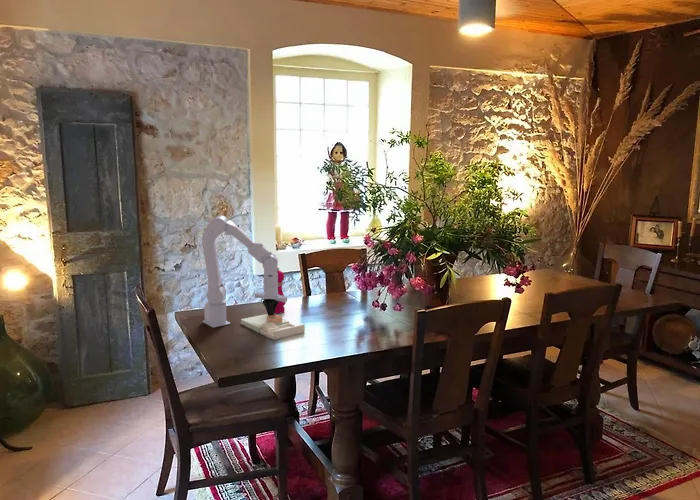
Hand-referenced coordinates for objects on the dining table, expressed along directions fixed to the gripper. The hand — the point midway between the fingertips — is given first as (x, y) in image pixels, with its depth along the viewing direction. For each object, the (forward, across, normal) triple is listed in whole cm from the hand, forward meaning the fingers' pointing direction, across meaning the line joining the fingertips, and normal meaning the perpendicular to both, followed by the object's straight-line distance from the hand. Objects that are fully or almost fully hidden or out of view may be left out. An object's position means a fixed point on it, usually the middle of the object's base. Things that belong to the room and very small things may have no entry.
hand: (271, 316), depth 230 cm
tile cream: (+2, +6, -10) cm, 12 cm away
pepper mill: (+3, -7, +16) cm, 18 cm away
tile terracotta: (+1, +3, -2) cm, 4 cm away
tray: (+3, +11, -8) cm, 14 cm away
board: (+3, -1, -3) cm, 4 cm away
